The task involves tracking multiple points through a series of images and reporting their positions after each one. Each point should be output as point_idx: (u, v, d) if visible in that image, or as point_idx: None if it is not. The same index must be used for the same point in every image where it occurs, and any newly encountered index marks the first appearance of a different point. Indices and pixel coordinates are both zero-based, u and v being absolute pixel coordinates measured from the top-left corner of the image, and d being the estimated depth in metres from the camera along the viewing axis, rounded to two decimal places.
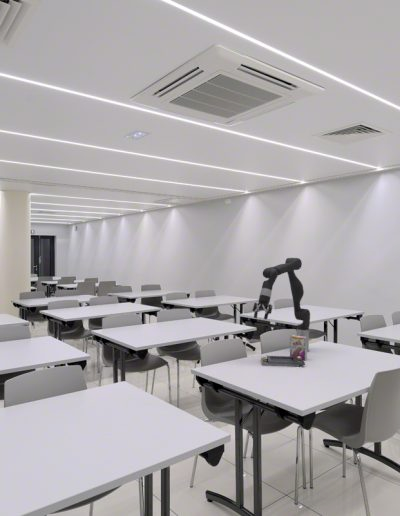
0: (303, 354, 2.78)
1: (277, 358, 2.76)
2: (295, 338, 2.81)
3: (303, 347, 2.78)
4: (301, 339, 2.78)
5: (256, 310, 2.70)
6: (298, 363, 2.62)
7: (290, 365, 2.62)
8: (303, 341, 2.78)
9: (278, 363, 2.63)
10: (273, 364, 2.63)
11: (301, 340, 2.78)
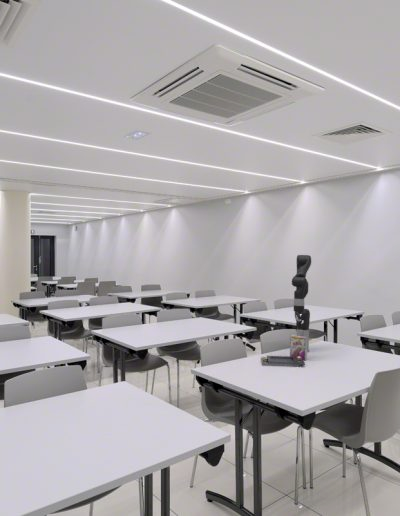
0: (303, 354, 2.78)
1: (277, 358, 2.76)
2: (295, 338, 2.81)
3: (303, 347, 2.78)
4: (301, 339, 2.78)
5: (296, 319, 2.86)
6: (298, 363, 2.62)
7: (290, 365, 2.62)
8: (303, 341, 2.78)
9: (278, 363, 2.63)
10: (273, 364, 2.63)
11: (301, 340, 2.78)
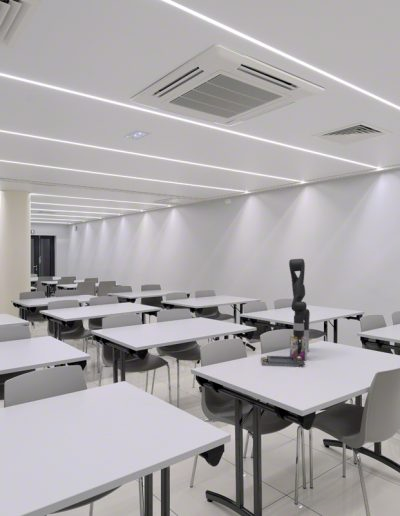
0: (303, 354, 2.78)
1: (277, 358, 2.76)
2: (295, 338, 2.81)
3: (303, 347, 2.78)
4: (301, 339, 2.78)
5: None
6: (298, 363, 2.62)
7: (290, 365, 2.62)
8: (303, 341, 2.78)
9: (278, 363, 2.63)
10: (273, 364, 2.63)
11: None
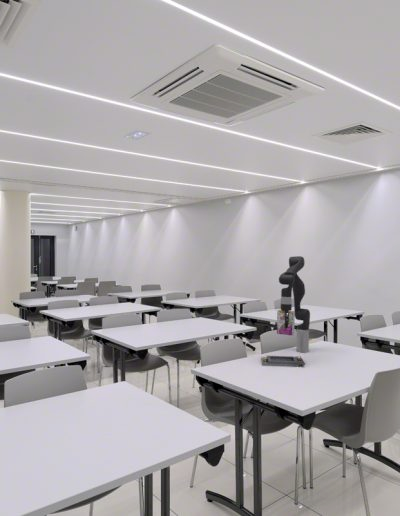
0: (290, 329, 2.68)
1: (277, 358, 2.76)
2: (282, 312, 2.71)
3: (290, 321, 2.68)
4: None
5: None
6: (298, 363, 2.62)
7: (290, 365, 2.62)
8: (290, 315, 2.68)
9: (278, 363, 2.63)
10: (273, 364, 2.63)
11: None
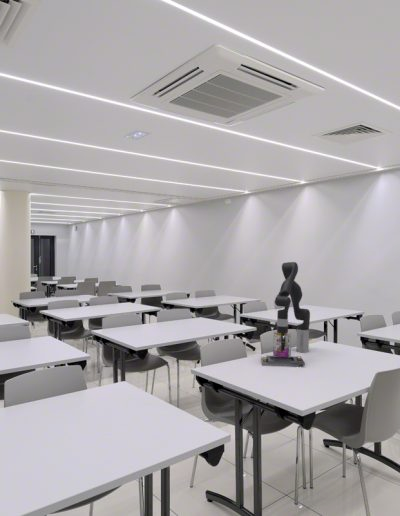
0: (287, 351, 2.66)
1: (277, 358, 2.76)
2: (279, 334, 2.69)
3: (287, 344, 2.66)
4: (285, 335, 2.67)
5: None
6: (298, 363, 2.62)
7: (290, 365, 2.62)
8: (287, 337, 2.66)
9: (278, 363, 2.63)
10: (273, 364, 2.63)
11: (285, 336, 2.67)
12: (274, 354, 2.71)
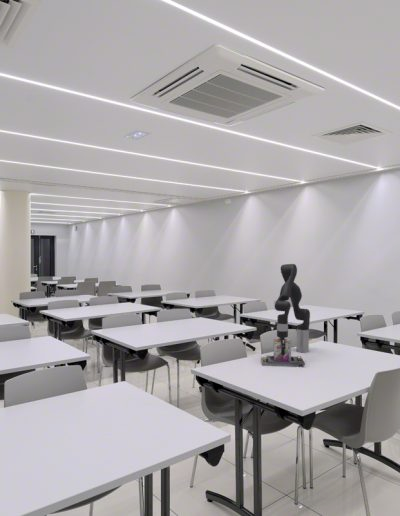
0: (287, 358, 2.66)
1: None
2: (279, 341, 2.69)
3: (287, 351, 2.66)
4: (285, 342, 2.67)
5: None
6: (298, 363, 2.62)
7: (290, 365, 2.62)
8: (287, 344, 2.66)
9: (278, 363, 2.63)
10: (273, 364, 2.63)
11: (285, 343, 2.67)
12: None
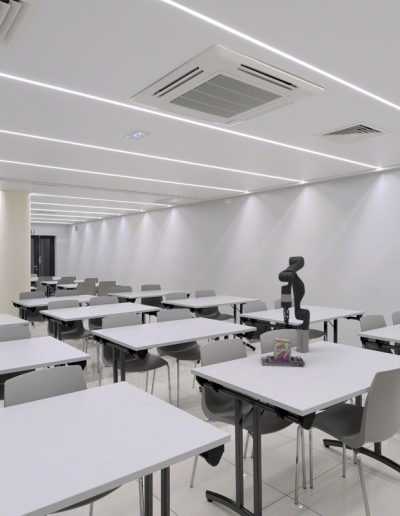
0: (287, 358, 2.66)
1: None
2: (279, 341, 2.69)
3: (287, 351, 2.66)
4: (285, 342, 2.67)
5: (283, 315, 2.77)
6: (298, 363, 2.62)
7: (290, 365, 2.62)
8: (287, 344, 2.66)
9: (278, 363, 2.63)
10: (273, 364, 2.63)
11: (285, 343, 2.67)
12: None
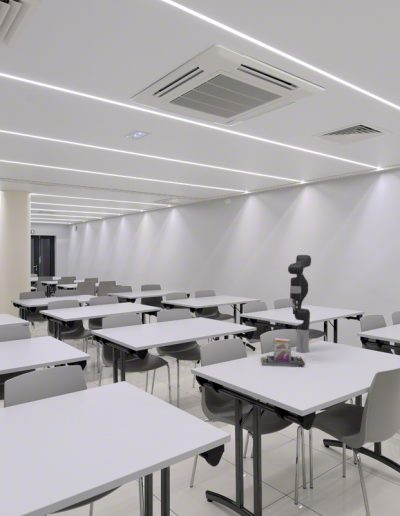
0: (287, 358, 2.66)
1: None
2: (279, 341, 2.69)
3: (287, 351, 2.66)
4: (285, 342, 2.67)
5: (292, 307, 2.83)
6: (298, 363, 2.62)
7: (290, 365, 2.62)
8: (287, 344, 2.66)
9: (278, 363, 2.63)
10: (273, 364, 2.63)
11: (285, 343, 2.67)
12: None
